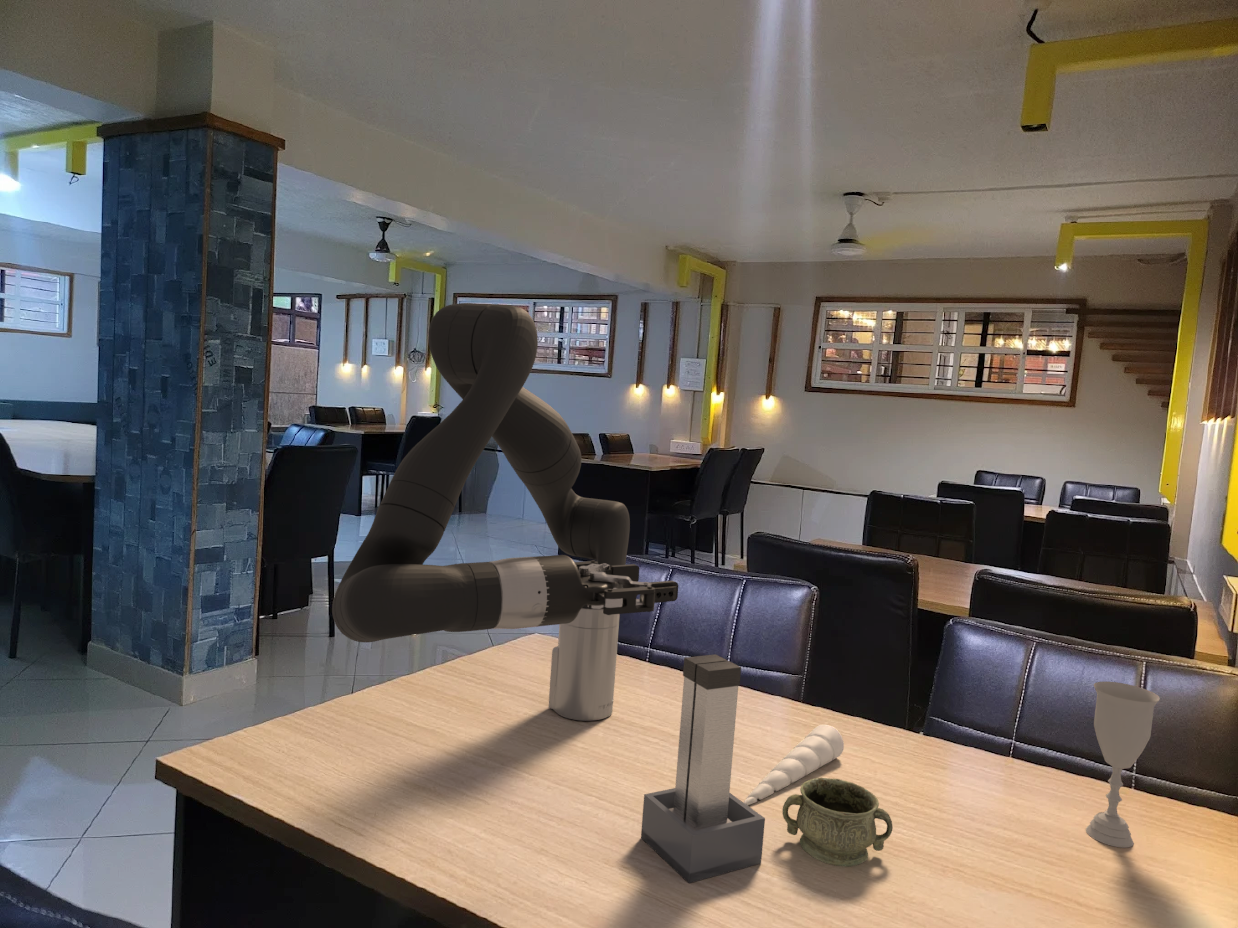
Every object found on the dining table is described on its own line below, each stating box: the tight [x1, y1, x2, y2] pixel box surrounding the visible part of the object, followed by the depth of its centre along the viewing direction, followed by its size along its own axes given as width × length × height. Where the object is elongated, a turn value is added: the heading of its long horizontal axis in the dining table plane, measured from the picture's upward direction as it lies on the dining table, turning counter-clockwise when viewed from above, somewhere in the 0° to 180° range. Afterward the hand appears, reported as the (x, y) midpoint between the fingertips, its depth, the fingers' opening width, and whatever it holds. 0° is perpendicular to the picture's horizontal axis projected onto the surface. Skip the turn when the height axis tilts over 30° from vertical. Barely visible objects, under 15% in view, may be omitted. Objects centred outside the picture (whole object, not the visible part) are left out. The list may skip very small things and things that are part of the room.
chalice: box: [1085, 680, 1161, 848], centre depth 98 cm, size 7×7×18 cm
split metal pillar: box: [669, 654, 742, 831], centre depth 88 cm, size 5×5×20 cm
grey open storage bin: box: [640, 787, 766, 884], centre depth 89 cm, size 9×9×5 cm
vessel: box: [781, 777, 893, 867], centre depth 91 cm, size 12×9×6 cm
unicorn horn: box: [743, 724, 845, 806], centre depth 109 cm, size 5×24×5 cm, turn 136°
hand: (656, 581), depth 96 cm, fingers open, 8 cm apart
